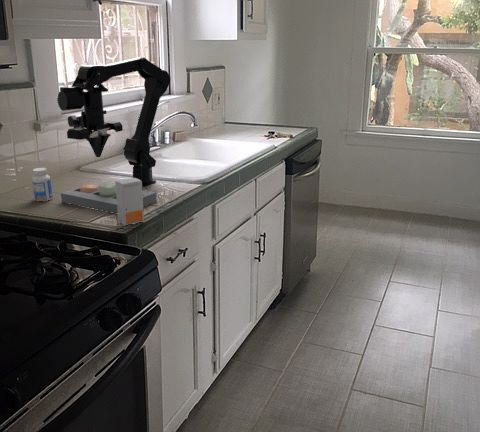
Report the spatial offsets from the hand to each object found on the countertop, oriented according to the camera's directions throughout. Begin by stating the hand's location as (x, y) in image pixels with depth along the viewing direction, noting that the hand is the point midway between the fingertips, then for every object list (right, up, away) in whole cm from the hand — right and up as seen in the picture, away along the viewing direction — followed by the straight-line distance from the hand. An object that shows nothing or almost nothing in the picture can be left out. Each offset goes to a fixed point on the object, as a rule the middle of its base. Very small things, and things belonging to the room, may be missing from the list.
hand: (98, 157), depth 169 cm
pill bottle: (-17, -14, -2) cm, 22 cm away
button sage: (+5, -13, -6) cm, 15 cm away
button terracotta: (-2, -13, -2) cm, 13 cm away
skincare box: (+15, -21, -23) cm, 34 cm away
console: (+5, -15, -5) cm, 16 cm away
